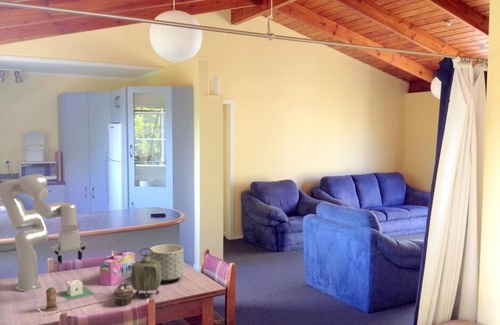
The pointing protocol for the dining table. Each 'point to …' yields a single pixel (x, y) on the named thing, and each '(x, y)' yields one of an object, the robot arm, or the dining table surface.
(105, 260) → the gum box
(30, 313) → the dining table surface
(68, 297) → the dice mat
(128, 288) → the cupcake
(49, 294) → the pawn
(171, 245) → the planter
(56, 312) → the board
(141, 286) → the tabletop clock
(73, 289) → the die
